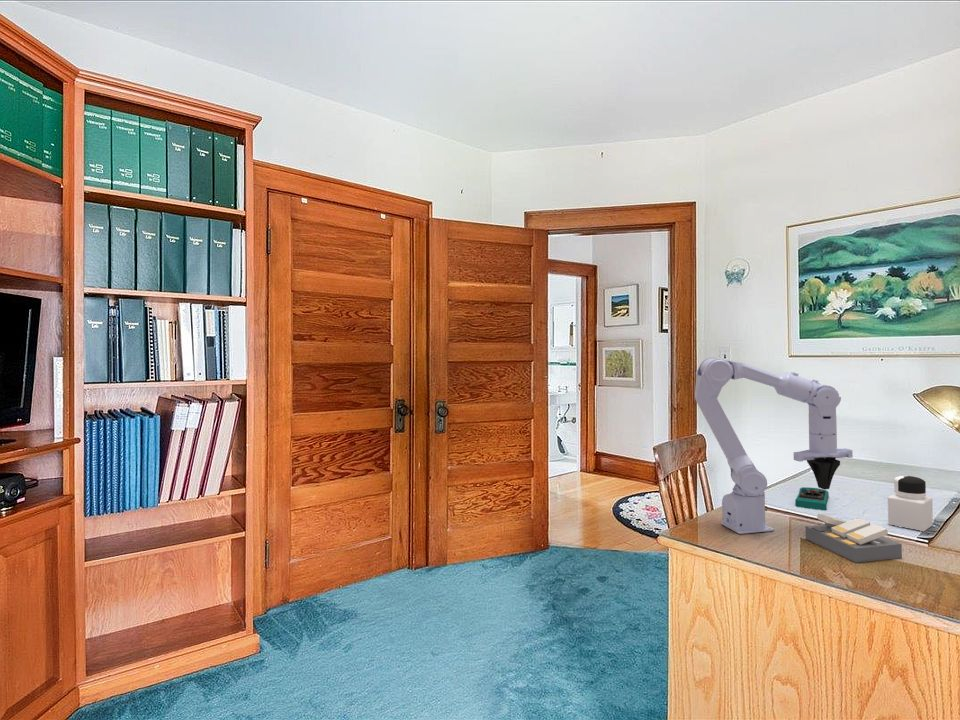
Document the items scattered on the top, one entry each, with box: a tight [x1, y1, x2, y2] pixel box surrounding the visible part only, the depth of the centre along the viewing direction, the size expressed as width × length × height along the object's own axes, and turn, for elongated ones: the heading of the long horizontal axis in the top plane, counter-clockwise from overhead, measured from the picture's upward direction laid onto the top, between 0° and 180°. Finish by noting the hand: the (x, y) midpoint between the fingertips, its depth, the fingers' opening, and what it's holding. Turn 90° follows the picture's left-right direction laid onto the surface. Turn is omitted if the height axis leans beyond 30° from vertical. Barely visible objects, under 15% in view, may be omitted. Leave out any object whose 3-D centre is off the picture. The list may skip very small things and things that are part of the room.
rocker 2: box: [831, 517, 871, 538], centre depth 118 cm, size 7×3×1 cm, turn 98°
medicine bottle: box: [887, 475, 934, 533], centre depth 130 cm, size 7×7×12 cm
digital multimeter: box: [795, 486, 830, 511], centre depth 152 cm, size 7×15×3 cm, turn 144°
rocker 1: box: [816, 513, 848, 525], centre depth 122 cm, size 7×3×1 cm, turn 98°
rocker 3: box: [847, 523, 889, 545], centre depth 114 cm, size 7×3×1 cm, turn 98°
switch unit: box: [805, 522, 903, 564], centre depth 118 cm, size 11×14×4 cm
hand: (823, 488), depth 129 cm, fingers closed
